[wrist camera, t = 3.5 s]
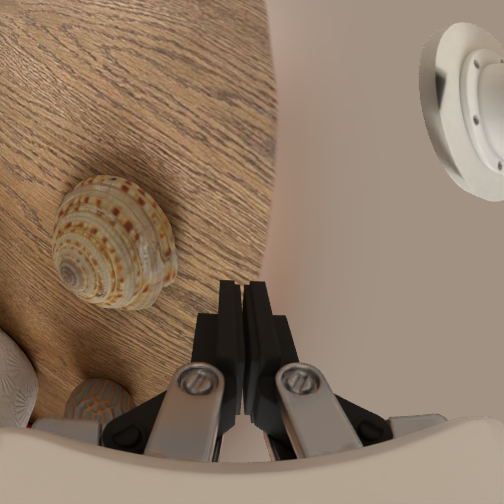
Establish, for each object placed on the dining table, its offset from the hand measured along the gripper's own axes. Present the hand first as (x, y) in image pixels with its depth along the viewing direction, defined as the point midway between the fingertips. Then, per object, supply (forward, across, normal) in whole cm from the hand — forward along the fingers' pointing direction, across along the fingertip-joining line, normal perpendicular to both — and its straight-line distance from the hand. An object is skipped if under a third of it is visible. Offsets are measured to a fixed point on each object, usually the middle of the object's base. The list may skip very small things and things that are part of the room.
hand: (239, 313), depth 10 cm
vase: (+7, +12, +16) cm, 21 cm away
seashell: (+7, +8, 0) cm, 10 cm away
